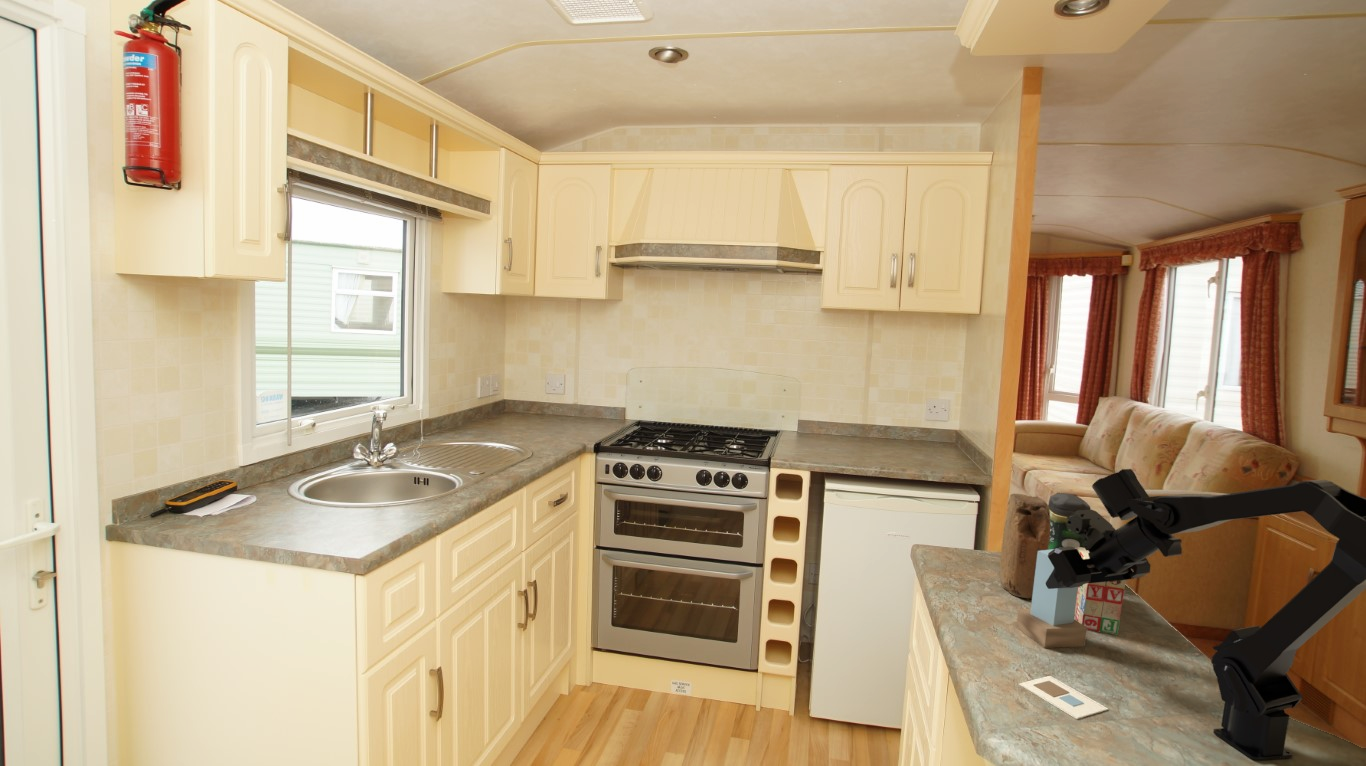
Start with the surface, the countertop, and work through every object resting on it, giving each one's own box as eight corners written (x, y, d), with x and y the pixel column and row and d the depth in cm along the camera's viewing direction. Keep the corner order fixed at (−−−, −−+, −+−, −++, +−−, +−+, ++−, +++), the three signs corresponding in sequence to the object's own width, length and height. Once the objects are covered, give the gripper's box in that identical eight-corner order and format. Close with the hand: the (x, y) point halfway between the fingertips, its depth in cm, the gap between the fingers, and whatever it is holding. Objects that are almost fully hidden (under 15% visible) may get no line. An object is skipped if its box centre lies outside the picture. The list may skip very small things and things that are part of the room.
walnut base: (1084, 646, 130) (1087, 627, 129) (1044, 647, 128) (1046, 628, 128) (1054, 625, 138) (1056, 608, 137) (1016, 626, 136) (1018, 609, 136)
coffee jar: (1037, 566, 169) (1046, 488, 167) (1074, 571, 167) (1084, 492, 165) (1045, 581, 160) (1055, 499, 158) (1085, 587, 158) (1096, 504, 156)
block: (996, 578, 160) (1006, 490, 158) (1033, 583, 158) (1043, 494, 156) (1006, 598, 150) (1016, 503, 147) (1045, 603, 148) (1057, 507, 145)
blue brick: (1073, 622, 131) (1081, 558, 130) (1053, 625, 129) (1061, 560, 128) (1050, 610, 136) (1057, 548, 134) (1030, 613, 134) (1037, 550, 132)
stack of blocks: (1061, 587, 157) (1067, 532, 156) (1093, 593, 155) (1100, 537, 154) (1081, 629, 137) (1089, 566, 135) (1118, 636, 135) (1127, 572, 134)
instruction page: (1108, 709, 109) (1108, 707, 109) (1076, 719, 106) (1076, 717, 106) (1049, 676, 118) (1049, 675, 118) (1019, 684, 115) (1019, 682, 115)
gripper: (1141, 496, 127) (1079, 538, 138) (1063, 502, 120) (1004, 546, 131) (1181, 555, 120) (1112, 594, 132) (1101, 565, 113) (1036, 606, 124)
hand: (1066, 583), depth 130 cm, fingers open, 9 cm apart
